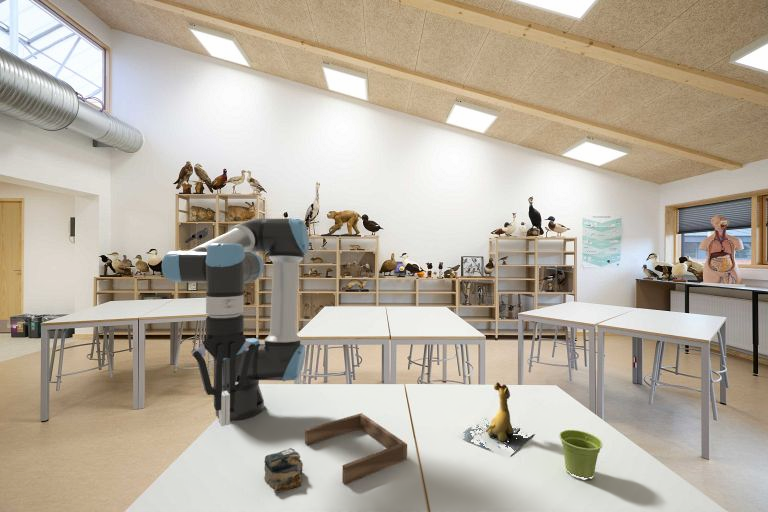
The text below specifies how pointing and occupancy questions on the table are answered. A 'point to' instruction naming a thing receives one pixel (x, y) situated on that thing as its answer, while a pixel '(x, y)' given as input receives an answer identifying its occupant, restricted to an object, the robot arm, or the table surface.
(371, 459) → the box
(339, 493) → the table surface
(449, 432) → the table surface
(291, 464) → the rock
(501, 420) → the stuffed giraffe
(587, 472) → the plant pot
